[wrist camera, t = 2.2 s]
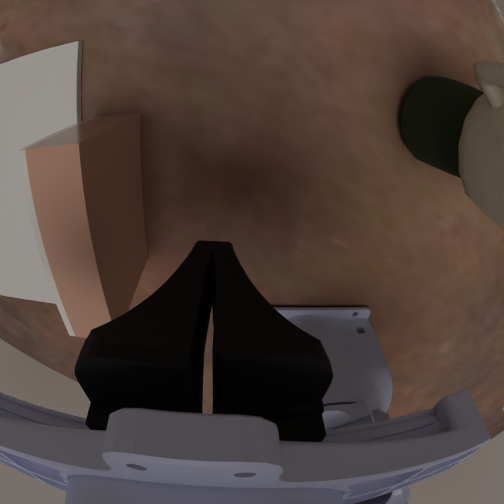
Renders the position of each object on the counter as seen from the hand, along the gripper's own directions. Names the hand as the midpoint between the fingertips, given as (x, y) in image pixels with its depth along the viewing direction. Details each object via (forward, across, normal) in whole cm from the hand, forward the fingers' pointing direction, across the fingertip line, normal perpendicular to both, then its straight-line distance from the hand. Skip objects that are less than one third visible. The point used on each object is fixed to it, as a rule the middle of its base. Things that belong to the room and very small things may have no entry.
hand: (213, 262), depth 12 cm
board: (+8, +16, 0) cm, 17 cm away
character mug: (+8, -14, -7) cm, 17 cm away
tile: (+8, +6, 0) cm, 10 cm away
